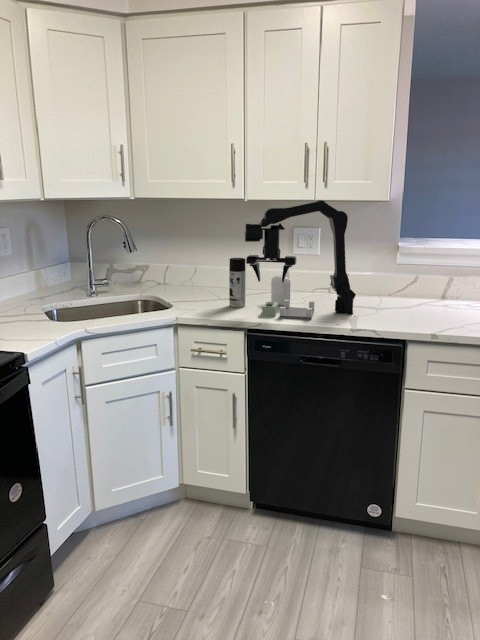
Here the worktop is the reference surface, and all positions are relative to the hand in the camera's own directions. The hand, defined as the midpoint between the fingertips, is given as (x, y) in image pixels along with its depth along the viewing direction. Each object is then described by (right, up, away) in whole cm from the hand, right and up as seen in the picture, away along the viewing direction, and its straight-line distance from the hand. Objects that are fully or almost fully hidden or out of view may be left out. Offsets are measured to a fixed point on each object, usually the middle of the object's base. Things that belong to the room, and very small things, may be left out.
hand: (271, 282), depth 200 cm
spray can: (-13, -9, +16) cm, 22 cm away
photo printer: (+5, -8, +20) cm, 22 cm away
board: (0, -12, +3) cm, 13 cm away
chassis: (+10, -12, +2) cm, 16 cm away
